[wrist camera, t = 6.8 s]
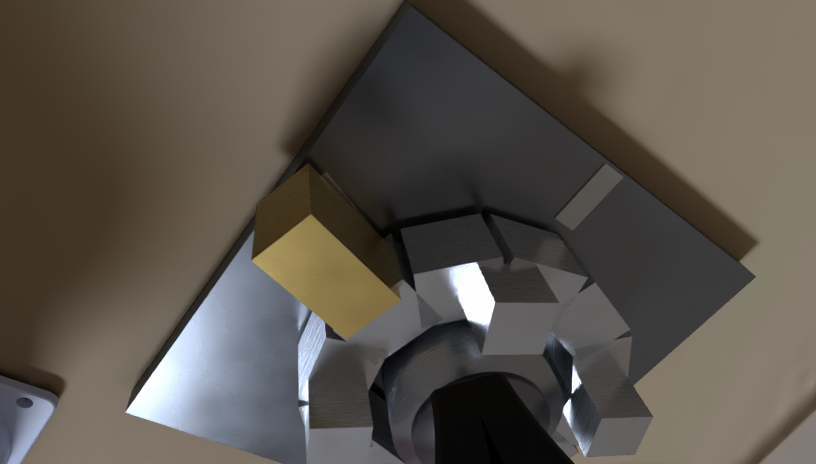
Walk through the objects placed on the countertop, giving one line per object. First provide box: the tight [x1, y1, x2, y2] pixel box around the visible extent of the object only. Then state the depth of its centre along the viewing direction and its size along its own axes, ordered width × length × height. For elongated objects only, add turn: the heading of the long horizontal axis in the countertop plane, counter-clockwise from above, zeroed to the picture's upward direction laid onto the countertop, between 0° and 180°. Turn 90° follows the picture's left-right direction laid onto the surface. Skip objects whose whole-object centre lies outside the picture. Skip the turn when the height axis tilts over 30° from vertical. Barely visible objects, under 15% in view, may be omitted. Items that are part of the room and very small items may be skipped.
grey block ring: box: [251, 163, 653, 464], centre depth 19 cm, size 11×14×4 cm
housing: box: [380, 319, 564, 464], centre depth 21 cm, size 6×6×5 cm
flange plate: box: [126, 0, 756, 464], centre depth 23 cm, size 17×17×1 cm
